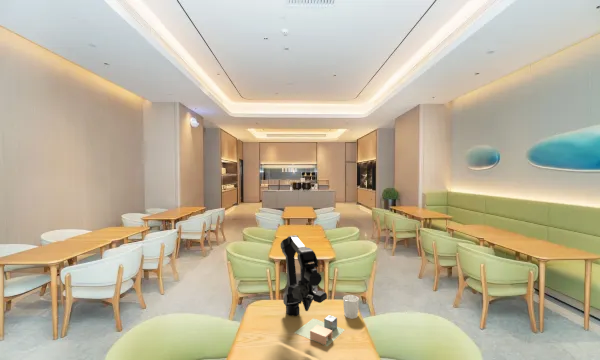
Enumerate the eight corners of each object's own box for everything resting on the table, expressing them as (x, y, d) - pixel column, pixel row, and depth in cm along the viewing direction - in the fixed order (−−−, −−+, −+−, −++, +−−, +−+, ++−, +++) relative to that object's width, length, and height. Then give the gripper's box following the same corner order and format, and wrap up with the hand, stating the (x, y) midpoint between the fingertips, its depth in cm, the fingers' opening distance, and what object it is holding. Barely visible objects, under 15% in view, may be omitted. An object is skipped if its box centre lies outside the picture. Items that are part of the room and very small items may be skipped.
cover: (310, 338, 133) (310, 330, 133) (317, 332, 138) (317, 324, 137) (325, 344, 128) (325, 336, 128) (332, 338, 133) (332, 330, 133)
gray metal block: (324, 329, 141) (324, 318, 141) (329, 324, 144) (329, 314, 144) (332, 332, 138) (332, 321, 138) (337, 327, 142) (337, 317, 142)
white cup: (358, 321, 149) (358, 302, 149) (342, 320, 151) (342, 300, 150) (358, 314, 157) (358, 295, 156) (343, 312, 158) (343, 294, 158)
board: (294, 334, 138) (294, 325, 138) (313, 320, 151) (313, 311, 151) (327, 348, 127) (327, 338, 127) (345, 331, 140) (345, 322, 140)
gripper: (279, 278, 135) (280, 311, 136) (313, 288, 124) (313, 324, 125) (294, 271, 144) (294, 302, 145) (327, 279, 133) (327, 313, 134)
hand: (306, 310), depth 137 cm, fingers closed
